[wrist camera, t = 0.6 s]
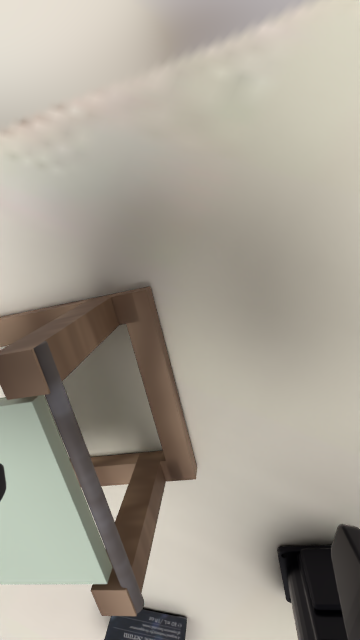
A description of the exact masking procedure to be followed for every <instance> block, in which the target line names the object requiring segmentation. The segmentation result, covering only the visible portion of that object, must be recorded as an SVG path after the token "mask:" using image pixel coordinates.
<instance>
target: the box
mask: <svg viewBox="0 0 360 640" xmlns="http://www.w3.org/2000/svg"><path fill="white" fill-rule="evenodd" d="M186 624H187V618H185V617H180V616H178V617H176V616H172V615H168V614H163V613H158V612H153V611H148V610H144V609H142V610H141V611H140V612H139V613H137V615H136V616H111V618H110V622H109V625H108V629H107V632H106V636H105V639H104V640H185V634H186Z"/></svg>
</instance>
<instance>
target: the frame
mask: <svg viewBox="0 0 360 640" xmlns="http://www.w3.org/2000/svg"><path fill="white" fill-rule="evenodd" d="M122 324H126V325H127V329H128V332H129V336H130V339H131V343H132V346H133V350H134V353H135V356H136V360H137V363H138V367H139V370H140V374H141V377H142V381H143V384H144V387H145V391H146V394H147V398H148V401H149V405H150V408H151V412H152V415H153V418H154V422H155V425H156V429H157V432H158V436H159V439H160V443H161V446H162V449H163V451H153V452H142V453H131V454H121V455H110V456H99V457H90V455H89V452H88V450H87V447H86V444H85V442H84V439H83V436H82V434H81V431H80V428H79V426H78V423H77V420H76V418H75V415H74V412H73V410H72V407H71V404H70V402H69V399H68V396H67V394H66V391H65V388H64V386H63V383H62V381H63V380H64V379H65V378H66V377H67V376H68V375H69V374H70V373H71V372H72V371H73V370H74V369H75V368H76V367H77V366H78V365H79V364H80V363H81V362H82V361H83V360H84V359H85V358H86V357H87V356H88V355H89V354H90V353H91V352H92V351H93V350H94V349H95V348H96V347H97V346H98V345H99V344H100V343H101V342H102V341H103V340H104V339H105V338H107V337H108V336H109V335H110V334H111V333H112V332H113V331H114V330H115V329H116V328H117V327H118V326H119V325H122ZM7 345H9V346H7ZM2 346H7V347H5V348H3V349H2V350H0V385H1V387H2V389H3V392H4V394H5V396H6V399H7V400H11V399H18V398H25V397H32V396H39V395H45V397H46V399H47V402H48V404H49V407H50V409H51V412H52V414H53V417H54V419H55V422H56V424H57V427H58V429H59V432H60V435H61V437H62V440H63V442H64V445H65V447H66V450H67V452H68V455H69V457H70V462H71V464H72V467H73V469H74V472H75V474H76V477H77V479H78V482H79V484H80V487H82V490H83V492H84V495H85V497H86V500H87V503H88V505H89V508H90V510H91V513H92V515H93V518H94V520H95V523H96V525H97V528H98V530H99V533H100V535H101V538H102V540H103V543H104V545H105V548H106V549H105V550H106V552H107V555H108V557H109V560H110V562H111V565H112V571H111V574H110V577H109V580H108V583H107V584H93V585H92V588H91V592H92V594H93V597H94V599H95V601H96V604H97V606H98V608H99V610H100V613H101V615H102V616H136V615H137V613H139V612H140V611H141V610H142V609H143V606H144V600H143V597H142V594H141V592H142V588H143V583H144V578H145V574H146V569H147V565H148V560H149V556H150V551H151V546H152V542H153V537H154V533H155V528H156V524H157V519H158V514H159V510H160V505H161V501H162V496H163V492H164V487H165V482H166V481H178V480H192V479H196V473H197V466H196V462H195V458H194V454H193V450H192V446H191V442H190V438H189V434H188V431H187V427H186V423H185V419H184V415H183V411H182V407H181V403H180V399H179V395H178V392H177V388H176V384H175V380H174V376H173V372H172V368H171V364H170V360H169V357H168V353H167V349H166V345H165V341H164V337H163V333H162V329H161V325H160V322H159V318H158V314H157V310H156V306H155V302H154V298H153V294H152V290H151V287H150V286H149V287H144V288H139V289H135V290H130V291H125V292H120V293H115V294H110V295H105V296H101V297H96V298H91V299H86V300H81V301H76V302H71V303H67V304H62V305H57V306H52V307H47V308H42V309H37V310H33V311H28V312H23V313H18V314H13V315H8V316H3V317H0V347H2ZM123 484H129V485H128V488H127V490H126V493H125V496H124V499H123V501H122V504H121V507H120V510H119V513H118V515H117V518H116V521H115V522H114V519H113V517H112V514H111V511H110V509H109V506H108V503H107V501H106V498H105V495H104V493H103V490H102V487H101V486H109V485H123Z"/></svg>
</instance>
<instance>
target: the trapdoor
mask: <svg viewBox="0 0 360 640" xmlns="http://www.w3.org/2000/svg"><path fill="white" fill-rule="evenodd" d="M0 463H1V464H2V465H3V466H4V471H5V478H6V491H5V494H4V496H3V498H2V500H1V501H0V584H107V583H108V580H109V577H110V574H111V571H112V565H111V562H110V560H109V557H108V555H107V552H106V550H105V547H104V545H103V542H102V540H101V537H100V535H99V532H98V530H97V527H96V525H95V522H94V520H93V517H92V515H91V512H90V510H89V507H88V505H87V502H86V500H85V497H84V495H83V492H82V490H81V487H80V484H79V482H78V479H77V477H76V474H75V472H74V469H73V467H72V464H71V462H70V459H69V457H68V454H67V452H66V449H65V447H64V444H63V442H62V439H61V437H60V434H59V432H58V429H57V427H56V424H55V422H54V419H53V417H52V414H51V412H50V409H49V407H48V404H47V402H46V399H45V397H44V395H39V396H32V397H25V398H18V399H11V400H7V399H6V397H4V398H0Z"/></svg>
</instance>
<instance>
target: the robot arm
mask: <svg viewBox="0 0 360 640" xmlns="http://www.w3.org/2000/svg"><path fill="white" fill-rule="evenodd" d="M5 491H6V478H5V471H4V466H3V465H2V464H1V463H0V501H1V500H2V498H3V496H4V494H5ZM277 551H278V557H279V563H280V568H281V573H282V579H283V584H284V590H285V595H286V600H287V601H288V602H290V603H292V608H293V614H294V619H295V624H296V630H297V635H298V640H360V529H359V528H357V527H355V526H350V525H345V524H340V525H339V526H338V528H337V531H336V534H335V537H334V540H333V543H332V545H328V546H290V547H280V548H278V550H277Z"/></svg>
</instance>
